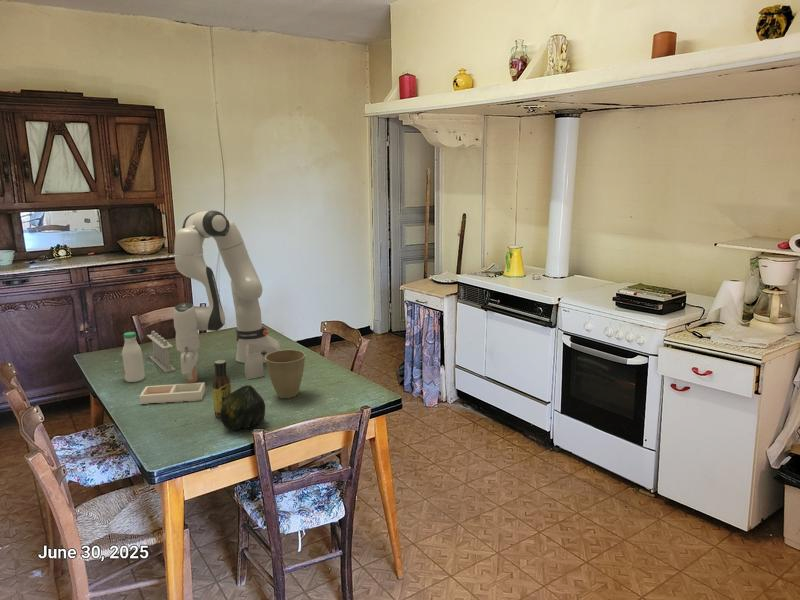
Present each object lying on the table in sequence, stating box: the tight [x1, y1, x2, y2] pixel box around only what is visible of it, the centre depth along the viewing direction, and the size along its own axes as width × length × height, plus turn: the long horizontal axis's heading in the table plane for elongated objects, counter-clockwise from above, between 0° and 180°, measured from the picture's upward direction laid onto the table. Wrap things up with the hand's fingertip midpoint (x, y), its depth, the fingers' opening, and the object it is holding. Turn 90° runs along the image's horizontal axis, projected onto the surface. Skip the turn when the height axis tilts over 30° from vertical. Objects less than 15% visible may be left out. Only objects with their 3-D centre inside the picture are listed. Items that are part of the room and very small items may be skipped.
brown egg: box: [185, 365, 198, 384], centre depth 246 cm, size 4×4×6 cm
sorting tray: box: [138, 381, 206, 405], centre depth 232 cm, size 22×10×4 cm, turn 99°
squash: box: [220, 384, 266, 431], centre depth 207 cm, size 14×15×15 cm
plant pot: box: [265, 349, 306, 399], centre depth 232 cm, size 15×15×16 cm
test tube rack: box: [146, 330, 176, 373], centre depth 270 cm, size 25×4×13 cm, turn 37°
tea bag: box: [243, 353, 265, 380], centre depth 252 cm, size 4×7×10 cm, turn 121°
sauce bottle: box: [212, 359, 232, 418], centre depth 214 cm, size 6×6×20 cm
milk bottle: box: [121, 331, 146, 383], centre depth 250 cm, size 8×8×20 cm
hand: (191, 376), depth 246 cm, fingers closed on brown egg, 4 cm apart
